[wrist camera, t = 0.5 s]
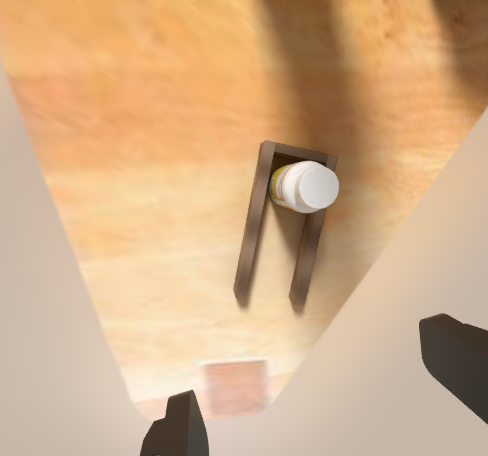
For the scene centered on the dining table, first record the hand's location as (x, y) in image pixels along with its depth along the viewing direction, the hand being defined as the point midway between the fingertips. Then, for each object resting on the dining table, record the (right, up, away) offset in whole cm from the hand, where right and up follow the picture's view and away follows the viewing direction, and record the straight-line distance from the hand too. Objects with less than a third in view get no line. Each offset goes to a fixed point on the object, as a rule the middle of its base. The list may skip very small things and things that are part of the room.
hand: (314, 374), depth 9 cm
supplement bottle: (+3, +10, +26) cm, 28 cm away
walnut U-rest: (+2, +5, +26) cm, 27 cm away
